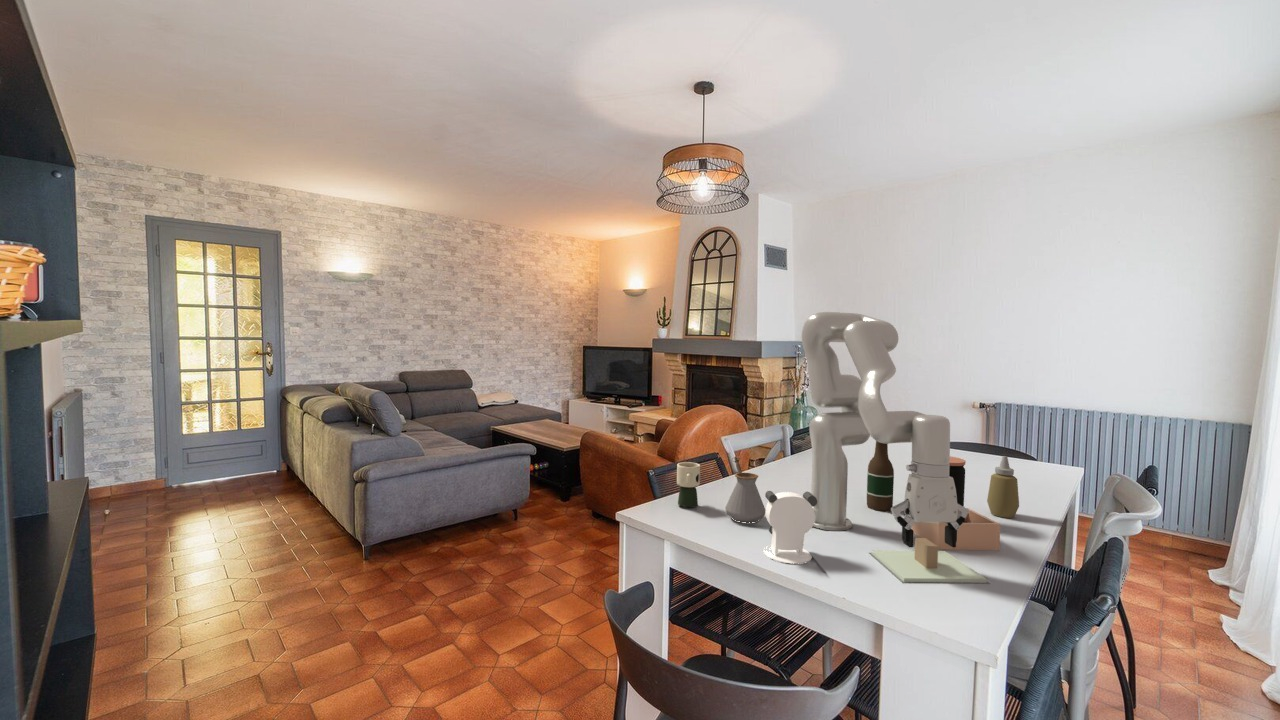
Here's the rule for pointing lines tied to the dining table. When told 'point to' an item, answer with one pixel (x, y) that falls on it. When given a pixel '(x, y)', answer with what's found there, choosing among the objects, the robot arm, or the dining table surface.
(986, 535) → the wooden cubby box
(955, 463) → the coffee jar
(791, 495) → the panda figurine
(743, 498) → the coffee pot
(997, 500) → the squeeze bottle
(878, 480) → the beer bottle
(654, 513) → the dining table surface
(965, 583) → the mat
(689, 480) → the character mug
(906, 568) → the lid
